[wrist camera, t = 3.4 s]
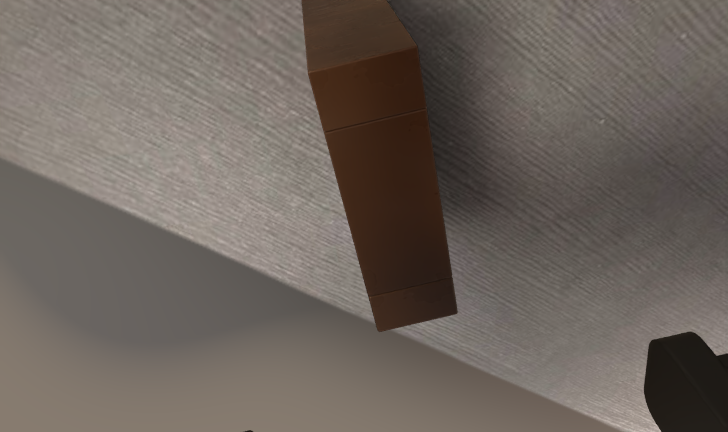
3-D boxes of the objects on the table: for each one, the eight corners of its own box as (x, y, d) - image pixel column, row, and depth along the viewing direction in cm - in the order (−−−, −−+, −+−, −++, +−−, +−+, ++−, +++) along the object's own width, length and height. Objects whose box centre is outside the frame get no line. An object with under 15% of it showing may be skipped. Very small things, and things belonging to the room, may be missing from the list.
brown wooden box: (353, 204, 28) (378, 333, 20) (301, -1, 22) (307, 72, 15) (412, 190, 28) (458, 314, 20) (374, -19, 22) (417, 45, 15)
